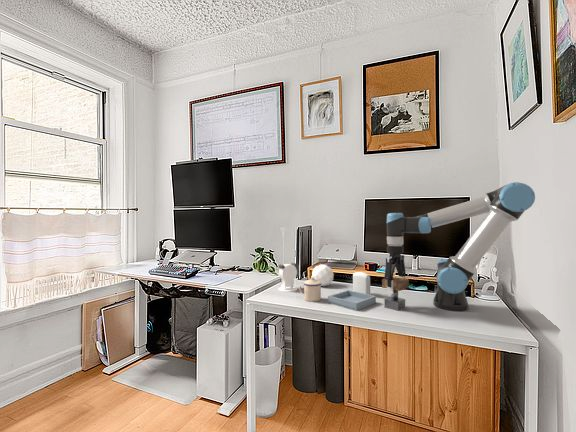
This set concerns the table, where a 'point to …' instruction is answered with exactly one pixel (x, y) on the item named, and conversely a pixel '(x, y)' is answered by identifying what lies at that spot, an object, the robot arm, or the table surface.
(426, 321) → the table surface
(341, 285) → the table surface
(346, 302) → the slate tray
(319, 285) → the teacup with lid
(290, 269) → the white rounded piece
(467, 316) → the table surface
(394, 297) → the metal stake
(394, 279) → the walnut ring
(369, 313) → the table surface
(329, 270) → the geodesic sphere
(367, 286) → the photo printer
